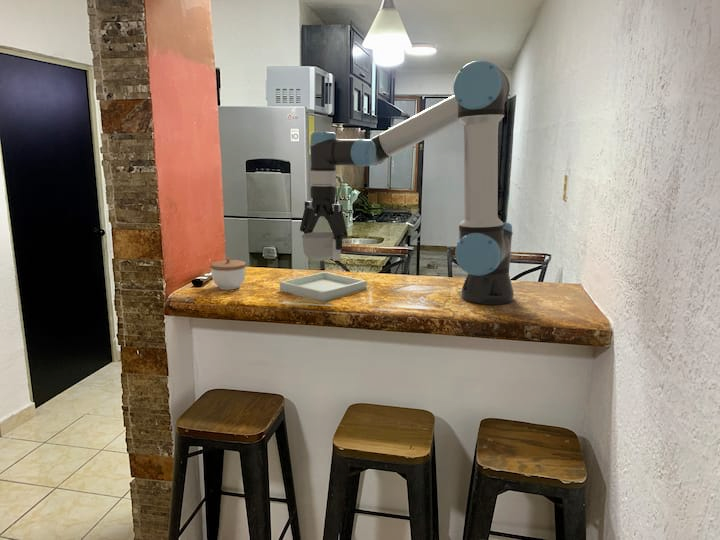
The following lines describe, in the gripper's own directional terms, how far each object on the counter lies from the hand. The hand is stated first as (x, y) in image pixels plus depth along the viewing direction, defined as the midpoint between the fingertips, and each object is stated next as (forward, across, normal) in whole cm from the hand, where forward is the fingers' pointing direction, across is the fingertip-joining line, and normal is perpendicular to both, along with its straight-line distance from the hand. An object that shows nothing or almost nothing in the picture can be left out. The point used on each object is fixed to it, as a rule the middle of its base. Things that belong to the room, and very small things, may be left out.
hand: (323, 257), depth 165 cm
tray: (+10, 0, 0) cm, 10 cm away
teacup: (+1, +1, 0) cm, 1 cm away
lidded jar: (+11, +24, +18) cm, 32 cm away
